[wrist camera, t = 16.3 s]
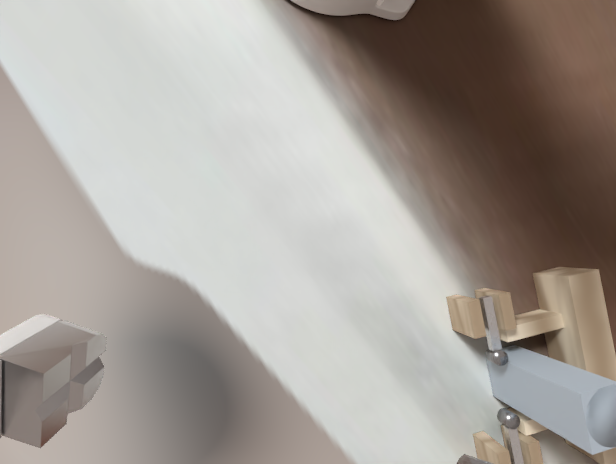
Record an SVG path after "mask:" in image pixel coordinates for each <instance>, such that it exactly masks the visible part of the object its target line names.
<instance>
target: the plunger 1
mask: <svg viewBox="0 0 616 464" xmlns="http://www.w3.org/2000/svg"><path fill="white" fill-rule="evenodd" d="M479 300H480V305H481V311H482V316H483V321H484V326H485V331H486V337H487V343H488V348H489V349H488V350H487V351H486V358H487V359H488V360H489V361H491V362H493V363H495V364H497V365H499V366H503V365H505V364H506V363H507V362H508V355H507V353H506V352H504V351H502V350H500V349H502V346H501V341H500V336H499V331H498V326H497V320H496V315H495V310H494V305H493V300H492V296H488V295H487V296H483V297H479Z"/></svg>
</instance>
